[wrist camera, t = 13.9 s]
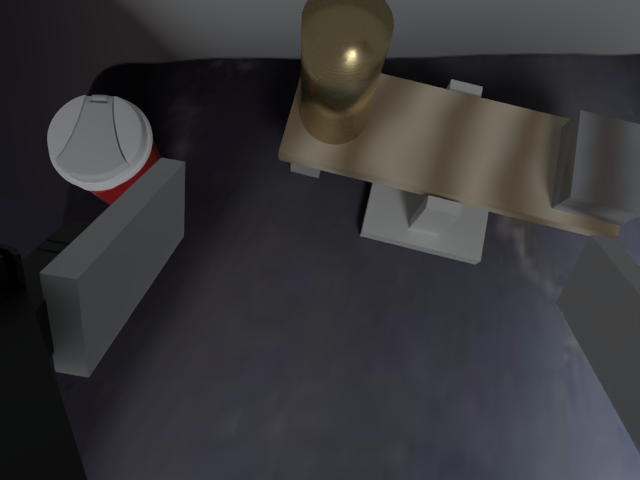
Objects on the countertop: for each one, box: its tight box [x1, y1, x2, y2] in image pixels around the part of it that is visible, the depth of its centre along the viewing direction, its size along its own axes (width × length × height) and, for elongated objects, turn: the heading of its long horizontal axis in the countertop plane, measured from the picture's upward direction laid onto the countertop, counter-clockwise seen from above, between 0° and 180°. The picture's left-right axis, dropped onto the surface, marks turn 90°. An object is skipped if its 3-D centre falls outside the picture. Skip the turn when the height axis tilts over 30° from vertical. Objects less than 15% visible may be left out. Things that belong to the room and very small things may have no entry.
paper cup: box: [47, 95, 162, 205], centre depth 42 cm, size 8×8×14 cm
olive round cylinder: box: [301, 0, 394, 145], centre depth 37 cm, size 6×6×12 cm
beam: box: [278, 73, 640, 239], centre depth 43 cm, size 30×10×6 cm, turn 76°
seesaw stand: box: [291, 79, 488, 264], centre depth 47 cm, size 20×16×8 cm
